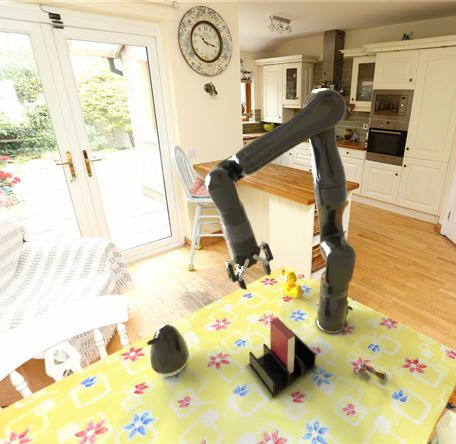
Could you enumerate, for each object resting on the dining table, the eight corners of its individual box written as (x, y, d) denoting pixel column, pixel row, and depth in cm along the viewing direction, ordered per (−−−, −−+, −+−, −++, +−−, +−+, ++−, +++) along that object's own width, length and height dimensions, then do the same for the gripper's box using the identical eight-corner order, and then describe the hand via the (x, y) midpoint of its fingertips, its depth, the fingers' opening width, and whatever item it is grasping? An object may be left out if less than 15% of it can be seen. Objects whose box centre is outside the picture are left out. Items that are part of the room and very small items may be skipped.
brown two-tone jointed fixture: (352, 369, 84) (361, 360, 82) (377, 381, 84) (386, 372, 82) (353, 375, 82) (361, 365, 80) (378, 387, 82) (387, 377, 80)
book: (277, 353, 88) (277, 317, 83) (294, 371, 83) (295, 334, 77) (270, 357, 87) (270, 321, 81) (286, 376, 81) (287, 339, 75)
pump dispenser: (145, 372, 83) (134, 332, 77) (175, 347, 91) (167, 309, 85) (168, 390, 78) (159, 348, 72) (197, 362, 86) (191, 323, 80)
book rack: (290, 341, 94) (290, 328, 92) (315, 367, 85) (316, 353, 83) (248, 366, 85) (248, 352, 83) (272, 397, 76) (272, 383, 74)
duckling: (276, 289, 119) (276, 269, 115) (286, 284, 122) (287, 264, 118) (294, 304, 111) (295, 282, 107) (305, 298, 114) (306, 277, 110)
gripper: (223, 250, 75) (242, 299, 82) (267, 227, 82) (282, 273, 88) (212, 243, 81) (231, 288, 88) (255, 221, 88) (269, 265, 94)
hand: (256, 281), depth 88 cm, fingers open, 8 cm apart
